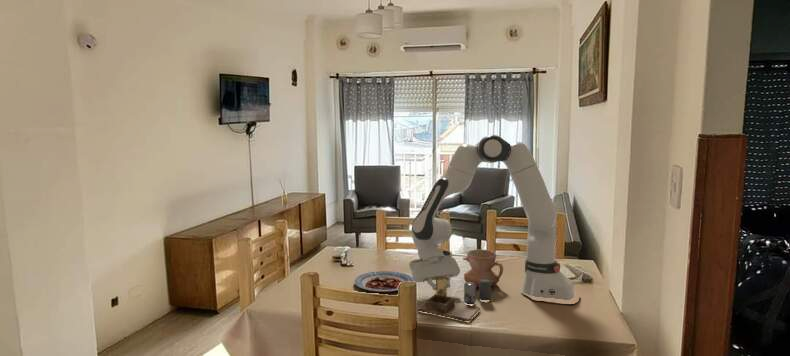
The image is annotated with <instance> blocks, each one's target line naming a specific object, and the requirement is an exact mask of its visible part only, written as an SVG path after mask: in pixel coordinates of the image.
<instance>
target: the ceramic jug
mask: <svg viewBox="0 0 790 356" xmlns="http://www.w3.org/2000/svg"><path fill="white" fill-rule="evenodd" d="M466 255H467V256H463V258H462V260H463V261H467V262H468V263H469V266H470V268H471V269H469V270H468V271H466V272H465V273H463V279H464V281H465V283H466V282H473V283H475V284H476V288H479V284H480V280H483V279H486V280H490V281H491V287H493V286H496V285H497V284H498V283H499V282H500V278H501V277H502V275H503V273H504V265H503V263H501V262H499V261H496V257H497V253H496V252H495V251H492V250H490V249H471V250H469V251H467V254H466ZM495 266H498V268H499V272H498V274H496V272H494V271H493V270H492V269H493V268H494V267H495Z"/></svg>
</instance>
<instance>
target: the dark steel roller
mask: <svg viewBox="0 0 790 356" xmlns="http://www.w3.org/2000/svg"><path fill="white" fill-rule="evenodd" d="M463 288H464V289H463V290H464V291H463V296H464V297H463V303H464V302H465V303H467V304H474V303H475V302H476V303H477V301H476V298H477V296H476V295H477V294H476V293H477V292H476V291H477V290H476V289H477V287H476V284H475V283H473V282H466V281H465V283H464V286H463Z"/></svg>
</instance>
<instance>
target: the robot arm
mask: <svg viewBox="0 0 790 356" xmlns="http://www.w3.org/2000/svg"><path fill="white" fill-rule="evenodd" d="M535 160H536V159H534V157H533V154H532V153H531V150H530V149H529V148H528V146H527V145H526V144H525V143H523V142H520V141H516V142H512V143H509V142H508V141H506V140H505V139H504V138H502V137H501V136H500V135H499V136H498V135H496V134H489V135H485V136H484V137H482V138H481V139H480V140H479V142H477V143H476V144H475V145H472V144H467V143H464V144H461V145H459V146H458V147H457V149H456V150H455V152H454V153H453V155H452V157H451V159H450V162H449V164H448V166H447V168H446V170H445V172H444V174H443V175H442V177H441V178H439V179H438V180H437V181H436V182H435V183H434V185H433V187H432V189H431V190H430V191H429V192H430V193H429V194H428V195H427V196H428V197H426V200H425V202H424V203H423V205H422V207H421V209H420V211H419V212H418V214H417V215H416V216H415V218H414V219H413V221H412V223H411V232H410V233H411V238H412V241H413V243H414V247H415V248H416V249H417V255H418V257H419V258H417V259H412V260H410V262H409V263H408V265H409V268H410V270H411V275H412V276H411V277H413V280H414V283H422V282H423V283H424V282H427V284H428V285H429V286H430V287H431V288H432V290H433V291H436V290H437V289H438V287H437V284H436V283H435V282H434V281H436V278H438V277H444V278H447V289H449V288H451V283H450V282H451V278H455V277H458V276H459V275H460V273H461V268H460V266H459V264H458V262H457V260H456V258H454V257H453V252H452V251H451V250H444V249H441V248H439V245H441V244H443V243H446V242H448V240H450V238H451V237H452V234H453V226H452V223H451V222H450V221H449V220H447V219H445V218H440V217H436V214H437V212H438V211H439V208H440V207H441V205H442V203H443V201H444V199H446V198H447V197H449V196H451V195H455V194H459V193H462V192H465V191H466V190H467V189H469V187H470V186H471V184H472V182H473V179H474V176H475V174H476V171H477V170H478V166H480V164H481V163H487V164H488V163H489V164H493V163H498V162H503V164H504V165H505V166H506V168H507V170H508V173H509V175H510V178H511V180H512V182H513V184H514V187H515V188H516V191H517V193H518V196H519V199H520V202H521V206H522V208H523V211H524V213H525V216H526V218H527V221H528V222H527V224H528V226H527V238H526V259H525V261H524V273H525V276H524V281H523V285H522V289H521V291H522V290H523V292H524V293H526V294H528V295H530V296H535V297H543V298H555V299H563V300H570V299H572V298H573V297H574V292H575V287H574V283H573V281H572V280H571V279H570V278H569V277H568V276H566V275H565V274H564V273H563V272H562V271H561V262H557V261H556V245H557V244H556V243H557V219H558V218H557V217H558V210H557V209H558V208H557V205H556V203H555V202H554V201H553V200H552V199H551V196H550V193H549V191H548V188H547V186H546V183H545V181H544V178H543V176H542V174H541V172H540V170H539V169H540V168H539V167H538V165H537V163H536V161H535Z"/></svg>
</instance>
